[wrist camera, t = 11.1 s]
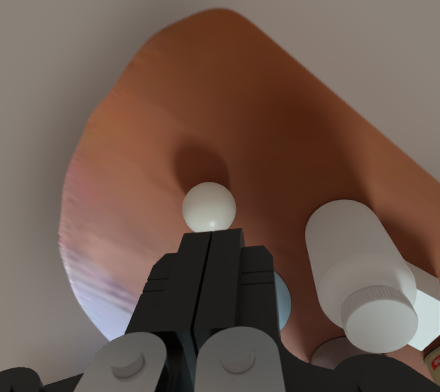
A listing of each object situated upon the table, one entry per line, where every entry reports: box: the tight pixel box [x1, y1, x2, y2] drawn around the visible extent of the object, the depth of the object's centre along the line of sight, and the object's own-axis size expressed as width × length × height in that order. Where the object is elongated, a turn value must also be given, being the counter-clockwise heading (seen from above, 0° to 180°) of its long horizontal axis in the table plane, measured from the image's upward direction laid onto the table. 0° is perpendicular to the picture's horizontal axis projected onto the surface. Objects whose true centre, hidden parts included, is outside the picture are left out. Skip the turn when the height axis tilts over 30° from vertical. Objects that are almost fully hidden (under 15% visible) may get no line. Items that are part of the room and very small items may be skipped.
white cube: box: [404, 260, 440, 351], centre depth 41 cm, size 6×6×6 cm
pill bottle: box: [305, 200, 418, 353], centre depth 35 cm, size 8×8×15 cm
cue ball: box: [182, 182, 236, 232], centre depth 39 cm, size 6×6×6 cm
